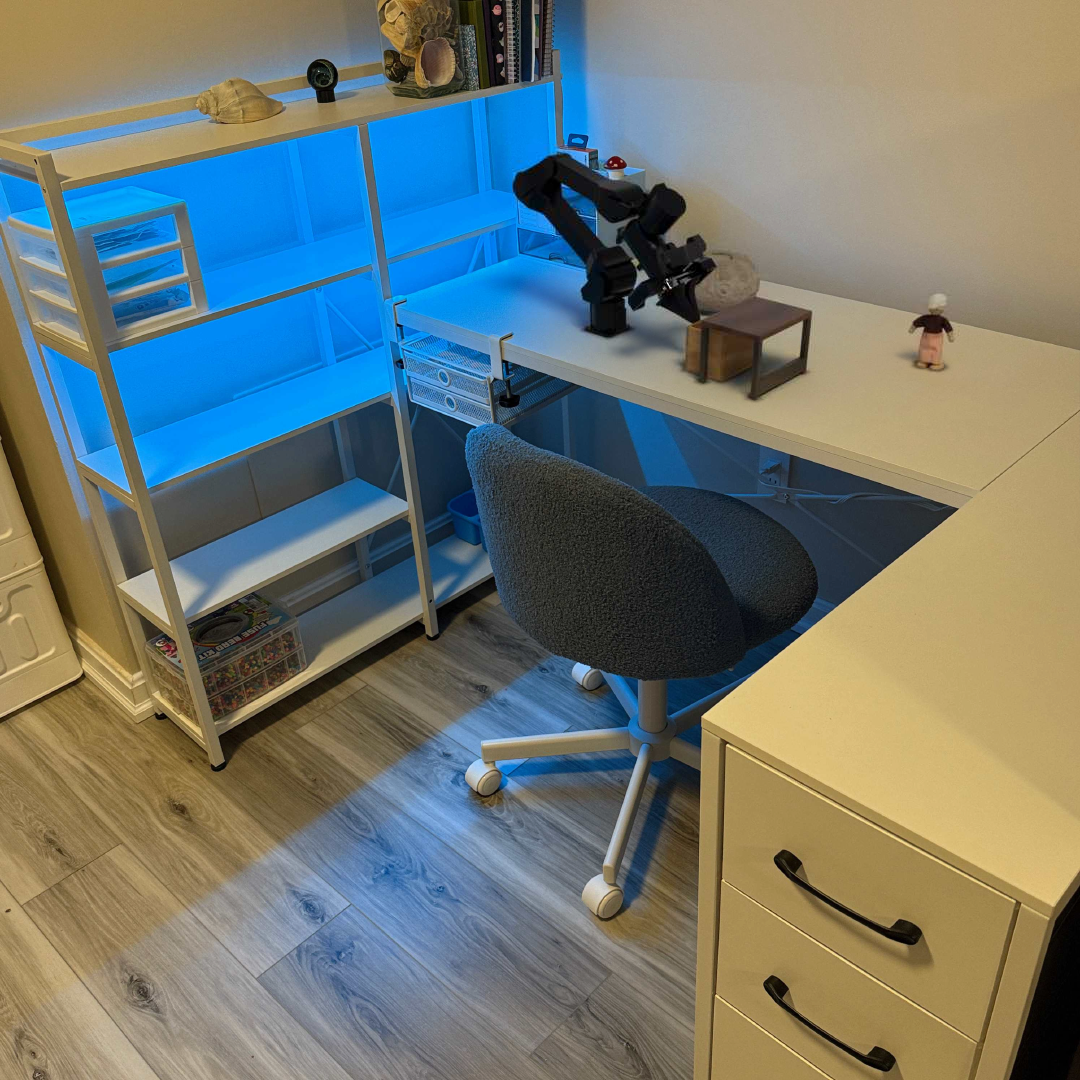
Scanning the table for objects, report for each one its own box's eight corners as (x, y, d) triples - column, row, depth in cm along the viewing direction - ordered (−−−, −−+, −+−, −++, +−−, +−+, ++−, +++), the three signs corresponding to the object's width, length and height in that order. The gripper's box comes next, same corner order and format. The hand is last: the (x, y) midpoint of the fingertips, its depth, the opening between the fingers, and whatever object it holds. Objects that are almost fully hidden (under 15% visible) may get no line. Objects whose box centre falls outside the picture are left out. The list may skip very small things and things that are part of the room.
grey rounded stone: (653, 310, 208) (654, 261, 203) (691, 284, 220) (693, 237, 215) (737, 325, 200) (741, 273, 194) (771, 296, 212) (775, 247, 207)
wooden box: (684, 370, 182) (686, 326, 178) (719, 353, 188) (721, 310, 184) (721, 382, 178) (724, 337, 173) (756, 364, 183) (759, 320, 179)
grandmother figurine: (951, 364, 180) (964, 292, 173) (948, 372, 177) (961, 300, 170) (904, 358, 183) (915, 288, 176) (901, 366, 180) (912, 295, 173)
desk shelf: (698, 382, 178) (701, 320, 172) (750, 355, 187) (755, 296, 181) (754, 400, 171) (759, 336, 165) (806, 372, 180) (812, 310, 174)
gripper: (641, 234, 172) (692, 313, 171) (710, 210, 182) (759, 284, 181) (605, 272, 181) (654, 348, 180) (674, 247, 191) (720, 318, 190)
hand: (698, 323), depth 183 cm, fingers closed
